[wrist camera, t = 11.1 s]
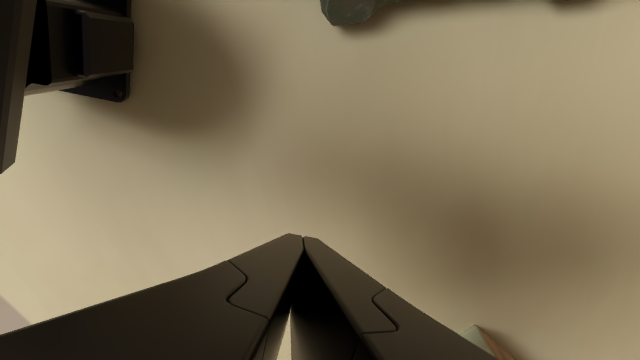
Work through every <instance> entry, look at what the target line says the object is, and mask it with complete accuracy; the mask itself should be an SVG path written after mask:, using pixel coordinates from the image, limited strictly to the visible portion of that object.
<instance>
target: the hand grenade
mask: <svg viewBox="0 0 640 360" xmlns="http://www.w3.org/2000/svg"><path fill="white" fill-rule="evenodd" d="M399 1H402V0H320V2H321V9H322V12H323V14H324V15H325V17H326V18H327V20H328V21H329V22H330V23H331V24H332V25H333V26H336V25H345V24H355V23H364V22H366V21H367V20H368V19H369V18H370V17H371V16H372V15H373V14H374V13H375V12H376V11H377V10H378V9H379V8H380V7H381V6H383V5H384V4H392V3H397V2H399Z"/></svg>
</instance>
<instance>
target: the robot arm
mask: <svg viewBox="0 0 640 360" xmlns="http://www.w3.org/2000/svg"><path fill="white" fill-rule="evenodd" d="M133 47H134V24H133V22H132V21H131V0H0V174H2V173H3V172H4V171H5V170H6V169H7V168H9V167H10V166H11V165H12V164H13V163H15V157H16V151H17V144H18V137H19V129H20V122H21V115H22V107H23V100H24V96H27V95H33V94H39V93H45V92H51V91H57V90H59V91H64V92H69V93H74V94H79V95H84V96H89V97H94V98H99V99H104V100H109V101H114V102H123V101H126V100H127V99H128V98H129V95H130V71H131V70H133ZM117 89H118V90H120V91H121V93H122V95H121V97H119V96H118V95H117V93H116V91H117ZM290 309H291V312H290ZM289 313H290V326H291V359H292V360H499V359H498V358H496V357H495V356H493V355H491V354H490V353H488V352H486V351H485V350H483V349H482V348H480V347H478V346H477V345H475V344H473V343H472V342H470V341H469V340H467V339H465V338H464V337H462V336H460V335H459V334H457V333H456V332H454V331H452V330H451V329H449V328H447V327H446V326H444V325H443V324H441V323H439V322H438V321H436V320H434V319H433V318H431V317H430V316H428V315H427V314H425V313H423V312H422V311H420V310H419V309H417V308H416V307H414V306H413V305H411V304H410V303H408V302H407V301H405V300H404V299H402V298H401V297H399V296H398V295H397V294H395V293H394V292H392V291H391V290H390V289H388V288H387V289H386V287H384V286H383V285H382V284H380V283H379V282H377V281H376V280H375V279H373V278H372V277H370V276H369V275H368V274H366V273H365V272H363V271H362V270H361V269H359V268H358V267H356V266H355V265H354V264H352V263H351V262H350V261H348V260H347V259H345V258H344V257H343V256H341V255H340V254H338V253H337V252H336V251H334V250H333V249H331V248H330V247H329V246H327V245H326V244H324V243H323V242H322V241H320V240H319V239H317V238H312V237H307V236H304V237H303V238H302V236H301V235H296V234H290V233H288V234H285V235H283V236H281V237H278V238H276V239H274V240H272V241H270V242H267V243H265V244H263V245H261V246H258V247H256V248H254V249H252V250H249V251H247V252H245V253H243V254H240V255H238V256H236V257H234V258H232V259H229V260H227V261H223V262H221V263H219V264H217V265H214V266H212V267H209V268H207V269H204V270H202V271H199V272H196V273H193V274H190V275H187V276H184V277H181V278H178V279H175V280H172V281H169V282H166V283H162V284H159V285H156V286H153V287H150V288H147V289H144V290H140V291H137V292H134V293H131V294H128V295H125V296H121V297H118V298H115V299H112V300H109V301H106V302H103V303H99V304H96V305H93V306H90V307H87V308H84V309H81V310H77V311H74V312H71V313H68V314H65V315H62V316H58V317H55V318H52V319H49V320H46V321H43V322H40V323H36V324H33V325H30V326H27V327H24V328H21V329H18V330H14V331H12V332H8V333H5V334H2V335H0V360H276V359H277V356H278V352H279V349H280V345H281V342H282V339H283V335H284V332H285V328H286V325H287V321H288V317H289Z"/></svg>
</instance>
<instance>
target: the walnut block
mask: <svg viewBox="0 0 640 360" xmlns="http://www.w3.org/2000/svg"><path fill="white" fill-rule="evenodd" d="M460 336H462V337H464V338H465V339H467V340H469V341H470V342H472V343H473V344H475V345H477V346H478V347H480V348H482V349H483V350H485V351H486V352H488V353H490V354H491V355H493V356H495V357H496V358H498V359H499V360H515V359H514V358H513V357H512V356H510V355H509V354H508V353H507V352H506V351H505V350H503V349H502V348H501V347H500V346H499V345H498V344H496V343H495V342H494V341H493V340H492V339H491V338H489V337H488V336H487V335H486V334H485V333H484V332H482V331H481V330H480V329H479V328H478V327H477V326H475V325H473V326H472V327H471V328H469V329H468V330H466V331H465V332H464V333H462V334H461V335H460Z"/></svg>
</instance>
